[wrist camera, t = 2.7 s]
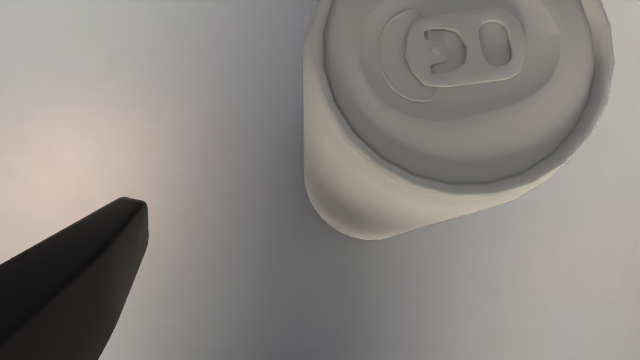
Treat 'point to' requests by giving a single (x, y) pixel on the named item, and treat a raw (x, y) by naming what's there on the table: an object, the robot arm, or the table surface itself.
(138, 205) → the robot arm
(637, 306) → the table surface
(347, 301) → the table surface
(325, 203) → the beverage can
